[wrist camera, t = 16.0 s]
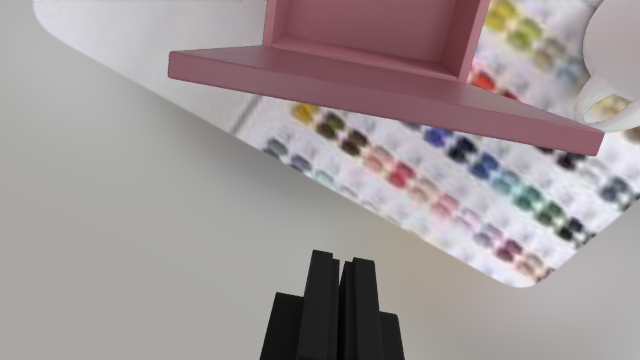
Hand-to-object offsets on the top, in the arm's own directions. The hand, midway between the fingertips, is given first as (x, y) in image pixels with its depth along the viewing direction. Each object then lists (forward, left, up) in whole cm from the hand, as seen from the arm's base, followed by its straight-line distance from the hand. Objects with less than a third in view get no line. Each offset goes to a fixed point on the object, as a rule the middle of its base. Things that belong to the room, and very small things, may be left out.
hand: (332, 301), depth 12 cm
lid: (-5, +1, -11) cm, 12 cm away
